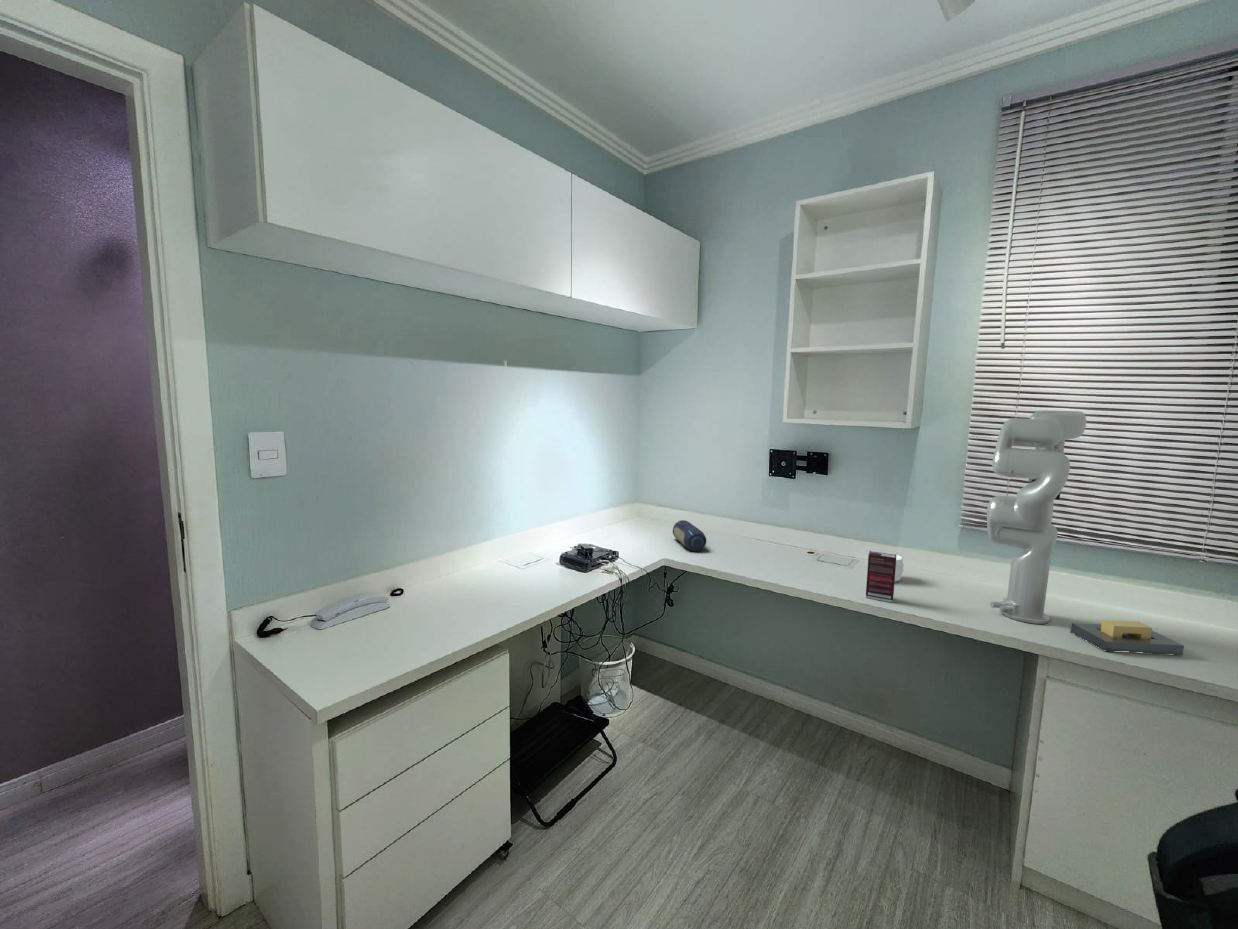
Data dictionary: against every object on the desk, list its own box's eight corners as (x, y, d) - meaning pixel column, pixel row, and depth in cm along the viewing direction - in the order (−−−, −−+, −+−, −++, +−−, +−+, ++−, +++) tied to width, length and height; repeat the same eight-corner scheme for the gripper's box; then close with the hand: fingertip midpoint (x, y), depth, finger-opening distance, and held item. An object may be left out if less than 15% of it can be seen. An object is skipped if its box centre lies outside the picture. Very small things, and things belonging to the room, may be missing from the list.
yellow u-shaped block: (1111, 645, 146) (1114, 625, 145) (1099, 639, 150) (1102, 619, 149) (1149, 648, 145) (1152, 627, 145) (1136, 641, 149) (1139, 621, 149)
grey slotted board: (1104, 651, 143) (1106, 641, 142) (1070, 632, 154) (1071, 622, 154) (1182, 656, 141) (1184, 645, 141) (1141, 636, 153) (1143, 626, 153)
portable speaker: (670, 538, 251) (670, 518, 249) (689, 538, 253) (690, 518, 251) (686, 554, 226) (687, 531, 225) (708, 553, 228) (709, 531, 227)
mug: (900, 587, 190) (902, 563, 189) (869, 581, 196) (871, 558, 195) (904, 578, 200) (906, 555, 199) (874, 573, 206) (876, 550, 204)
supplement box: (893, 598, 179) (897, 554, 177) (892, 603, 175) (896, 557, 173) (865, 593, 183) (869, 550, 181) (864, 597, 179) (868, 553, 177)
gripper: (1081, 449, 168) (1074, 501, 170) (1043, 444, 185) (1037, 491, 187) (1056, 449, 168) (1050, 500, 171) (1021, 444, 186) (1015, 491, 188)
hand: (1043, 496), depth 179 cm, fingers open, 9 cm apart
